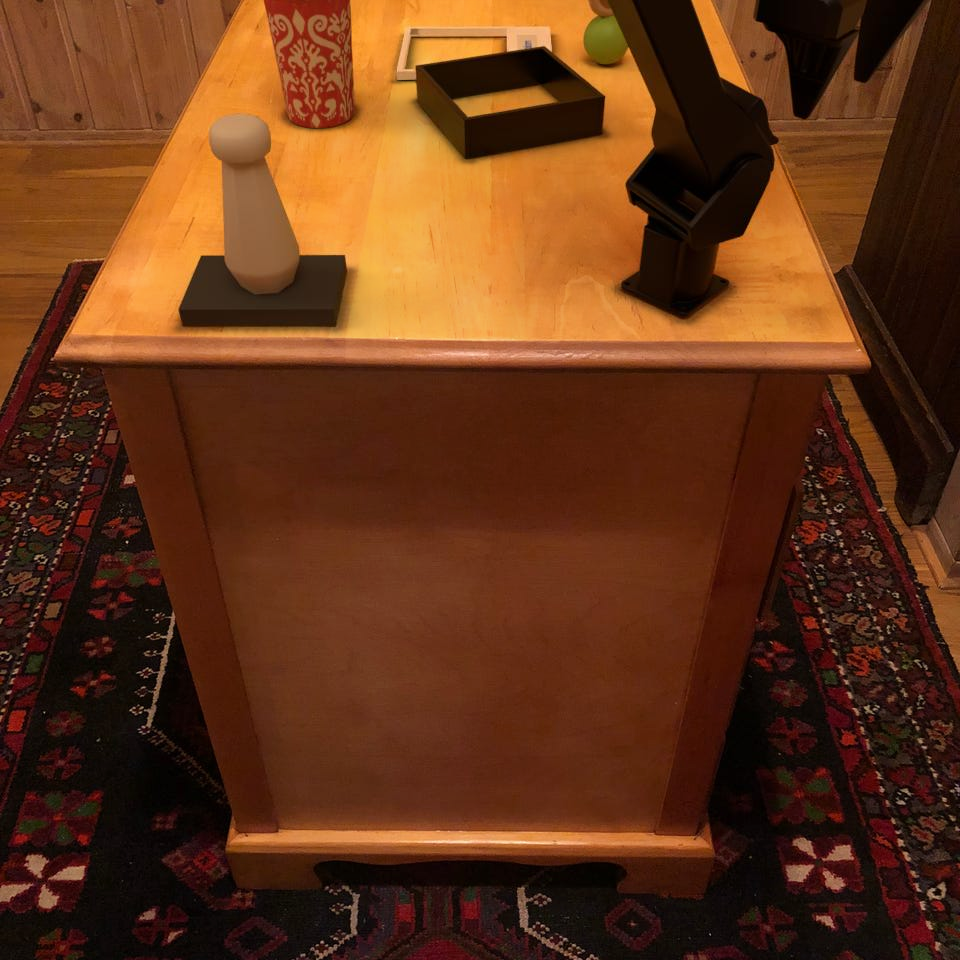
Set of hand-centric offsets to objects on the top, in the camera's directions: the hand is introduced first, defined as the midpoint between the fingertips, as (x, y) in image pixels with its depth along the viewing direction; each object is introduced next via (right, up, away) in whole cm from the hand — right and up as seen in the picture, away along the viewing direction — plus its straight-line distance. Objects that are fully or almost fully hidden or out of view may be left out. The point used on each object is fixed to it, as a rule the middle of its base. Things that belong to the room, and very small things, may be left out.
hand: (831, 98), depth 72 cm
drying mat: (-44, -14, +4) cm, 47 cm away
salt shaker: (-44, -13, +3) cm, 46 cm away
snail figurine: (-13, +20, +40) cm, 47 cm away
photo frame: (-27, +22, +42) cm, 54 cm away
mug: (-44, +11, +32) cm, 55 cm away
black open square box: (-24, +10, +29) cm, 39 cm away
